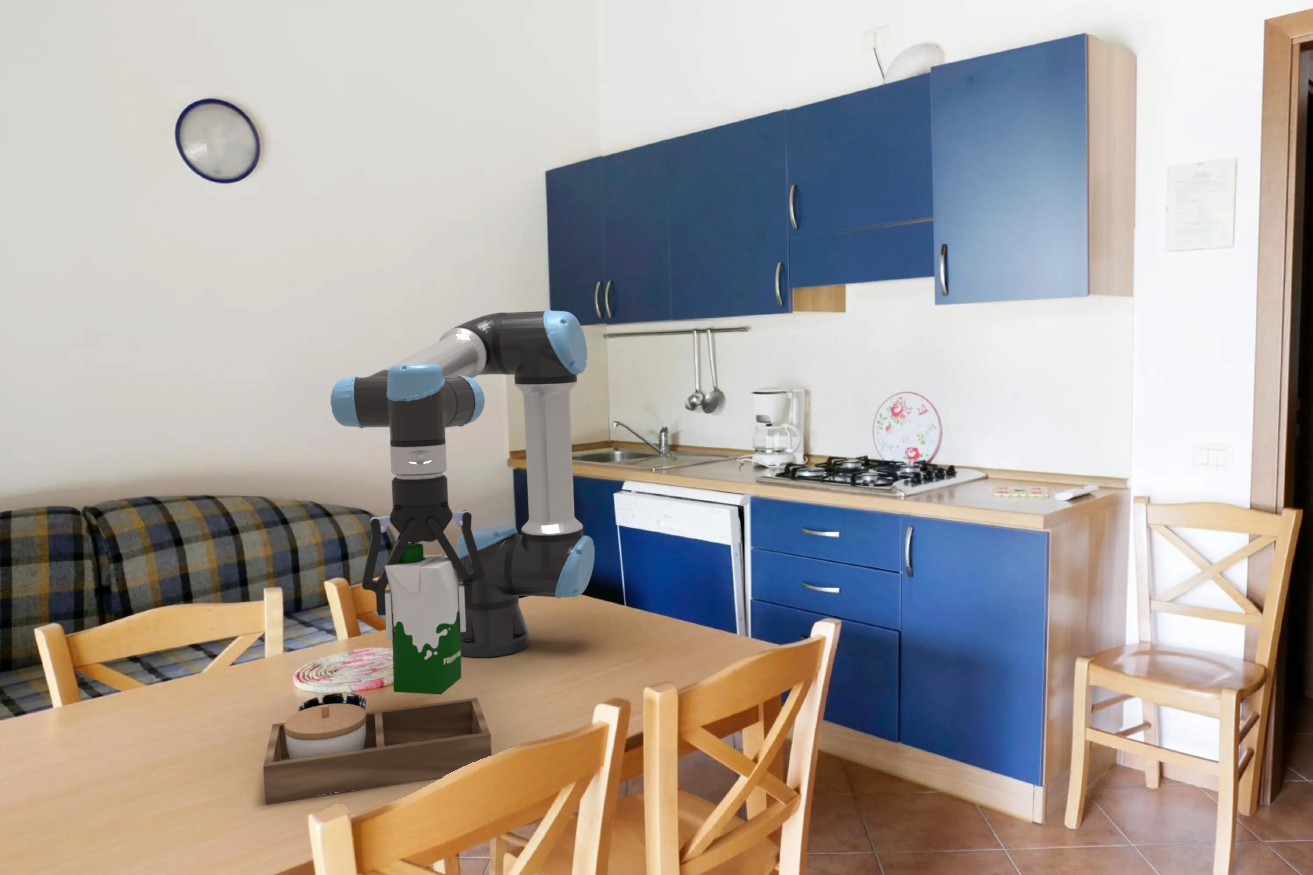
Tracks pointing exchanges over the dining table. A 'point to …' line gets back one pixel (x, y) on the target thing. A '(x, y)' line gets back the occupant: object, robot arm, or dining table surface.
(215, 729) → the dining table surface
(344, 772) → the organizer
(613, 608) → the dining table surface
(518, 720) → the dining table surface
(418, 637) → the soya milk
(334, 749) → the lidded jar
